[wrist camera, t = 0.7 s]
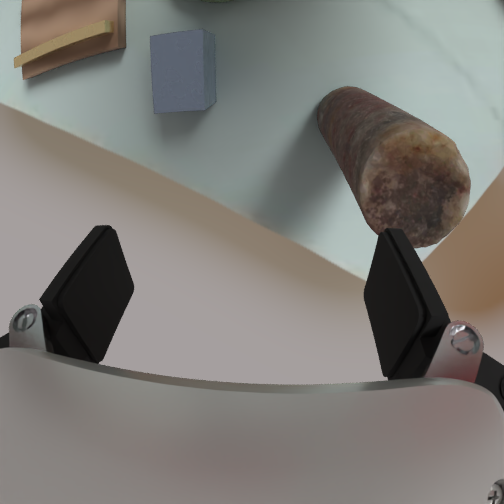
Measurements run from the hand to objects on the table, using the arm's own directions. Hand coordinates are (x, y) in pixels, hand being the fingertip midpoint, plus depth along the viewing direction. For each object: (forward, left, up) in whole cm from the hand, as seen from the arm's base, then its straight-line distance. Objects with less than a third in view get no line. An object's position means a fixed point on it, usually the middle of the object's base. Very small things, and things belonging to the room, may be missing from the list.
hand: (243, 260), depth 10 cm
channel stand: (-19, -24, -25) cm, 39 cm away
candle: (-1, +9, -25) cm, 27 cm away
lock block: (-6, -8, -25) cm, 27 cm away
